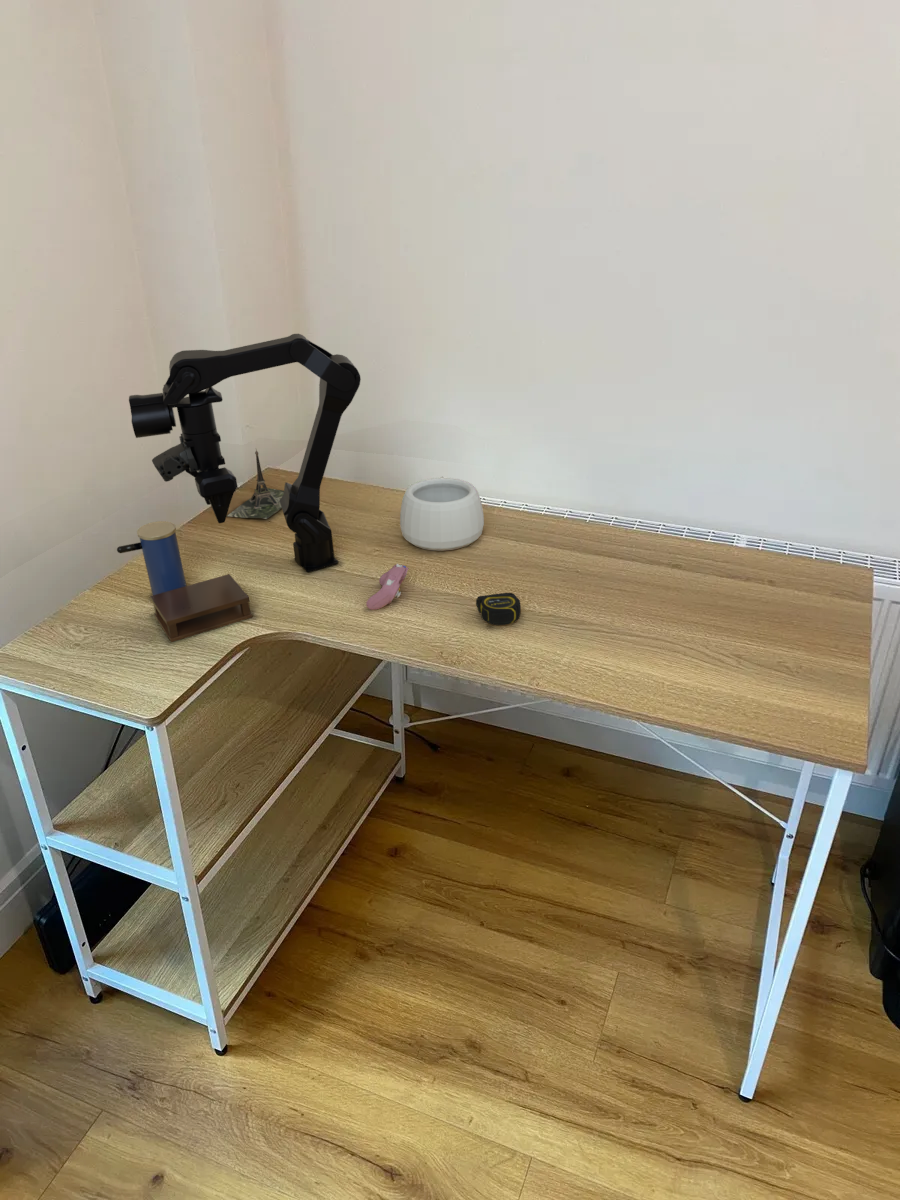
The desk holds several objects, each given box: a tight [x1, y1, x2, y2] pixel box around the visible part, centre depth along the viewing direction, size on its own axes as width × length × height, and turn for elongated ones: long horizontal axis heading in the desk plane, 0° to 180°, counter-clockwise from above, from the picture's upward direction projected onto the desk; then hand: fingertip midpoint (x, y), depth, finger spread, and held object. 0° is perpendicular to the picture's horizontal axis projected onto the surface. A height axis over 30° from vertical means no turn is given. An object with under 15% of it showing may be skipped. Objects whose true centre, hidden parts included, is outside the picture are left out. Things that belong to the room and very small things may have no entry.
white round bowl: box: [399, 476, 485, 552], centre depth 172 cm, size 21×17×10 cm
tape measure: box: [475, 592, 522, 626], centre depth 143 cm, size 7×7×4 cm
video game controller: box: [365, 563, 409, 611], centre depth 150 cm, size 10×5×7 cm, turn 168°
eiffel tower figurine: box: [226, 449, 284, 520], centre depth 184 cm, size 15×10×13 cm
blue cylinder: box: [116, 520, 187, 596], centre depth 150 cm, size 10×6×13 cm, turn 115°
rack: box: [149, 573, 253, 643], centre depth 146 cm, size 14×10×4 cm
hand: (215, 513), depth 153 cm, fingers open, 9 cm apart
